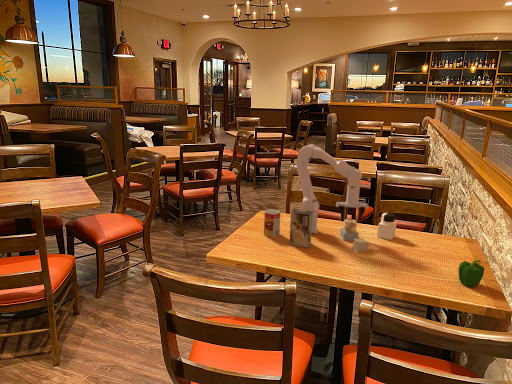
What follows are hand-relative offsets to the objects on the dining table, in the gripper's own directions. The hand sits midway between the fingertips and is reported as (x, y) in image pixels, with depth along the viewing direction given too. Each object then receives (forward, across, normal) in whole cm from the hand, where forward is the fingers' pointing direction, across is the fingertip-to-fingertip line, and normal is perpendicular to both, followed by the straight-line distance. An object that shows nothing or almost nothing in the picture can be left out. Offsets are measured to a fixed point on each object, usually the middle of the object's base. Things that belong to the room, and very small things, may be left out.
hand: (350, 221), depth 181 cm
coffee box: (+9, -24, -12) cm, 28 cm away
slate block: (+9, 0, 0) cm, 9 cm away
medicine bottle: (+9, +19, +5) cm, 22 cm away
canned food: (+9, -38, -2) cm, 39 cm away
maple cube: (+5, 0, 0) cm, 5 cm away
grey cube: (+9, +3, -14) cm, 17 cm away
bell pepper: (+8, +39, -41) cm, 57 cm away
